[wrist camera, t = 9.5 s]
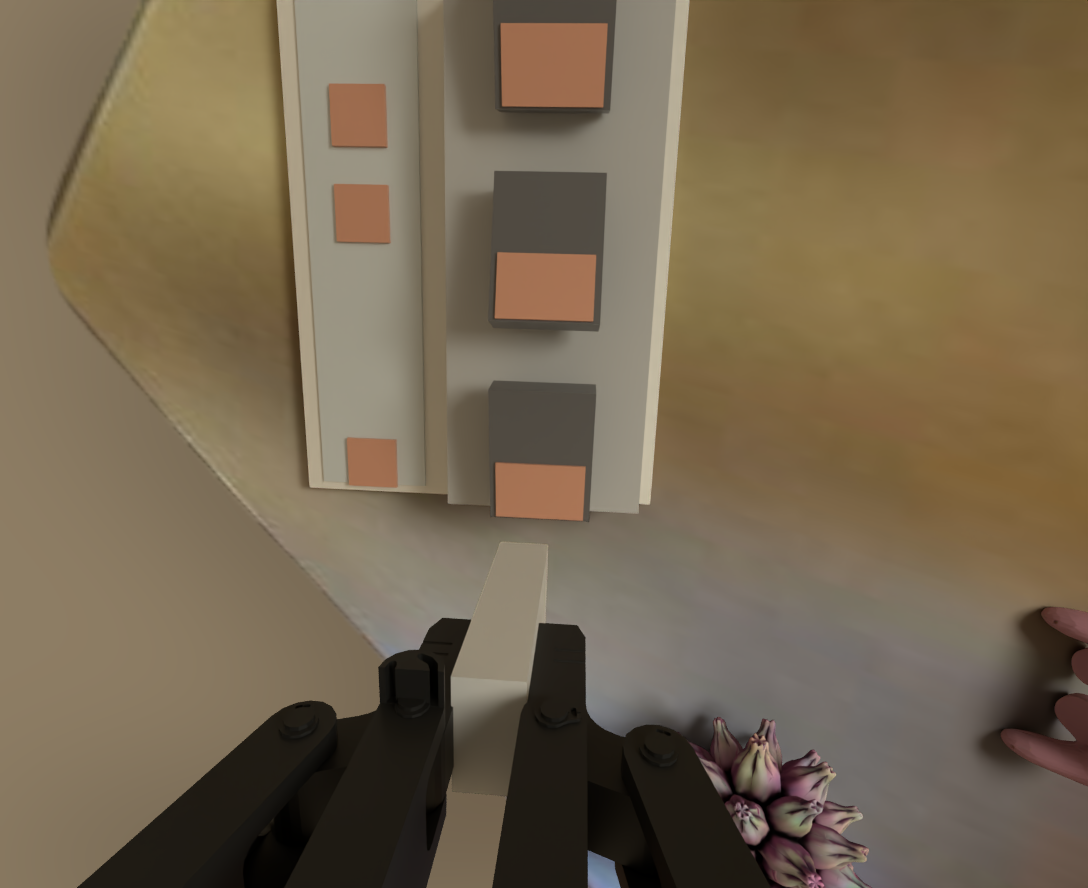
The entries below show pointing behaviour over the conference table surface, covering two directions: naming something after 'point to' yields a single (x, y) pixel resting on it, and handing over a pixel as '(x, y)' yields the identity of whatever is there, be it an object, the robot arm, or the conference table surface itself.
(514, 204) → the middle switch
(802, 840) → the flower
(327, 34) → the switch panel
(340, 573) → the conference table surface
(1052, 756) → the video game controller
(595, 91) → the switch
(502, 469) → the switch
